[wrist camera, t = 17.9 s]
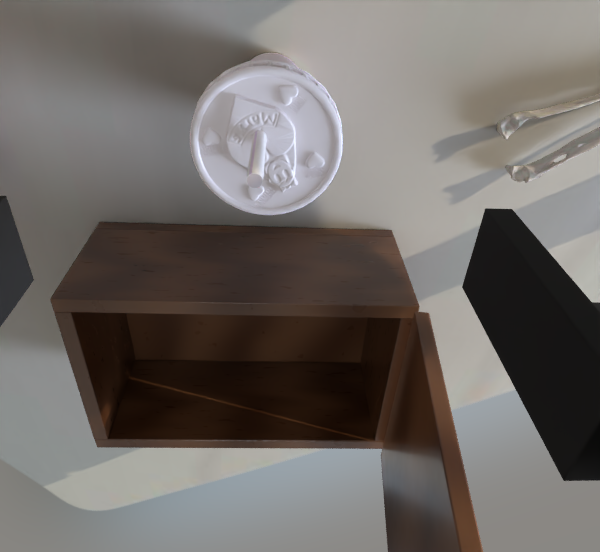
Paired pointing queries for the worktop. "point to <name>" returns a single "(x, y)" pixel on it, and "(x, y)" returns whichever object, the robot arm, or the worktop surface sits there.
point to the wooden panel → (425, 458)
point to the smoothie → (266, 136)
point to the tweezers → (547, 162)
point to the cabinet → (236, 335)
